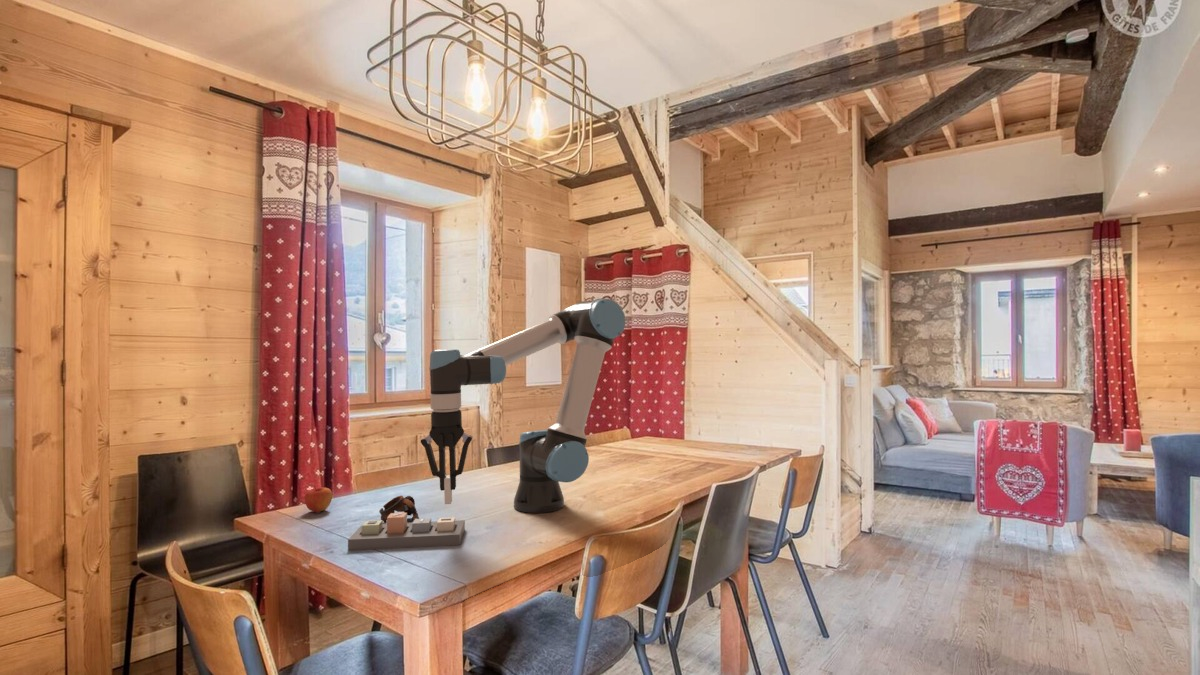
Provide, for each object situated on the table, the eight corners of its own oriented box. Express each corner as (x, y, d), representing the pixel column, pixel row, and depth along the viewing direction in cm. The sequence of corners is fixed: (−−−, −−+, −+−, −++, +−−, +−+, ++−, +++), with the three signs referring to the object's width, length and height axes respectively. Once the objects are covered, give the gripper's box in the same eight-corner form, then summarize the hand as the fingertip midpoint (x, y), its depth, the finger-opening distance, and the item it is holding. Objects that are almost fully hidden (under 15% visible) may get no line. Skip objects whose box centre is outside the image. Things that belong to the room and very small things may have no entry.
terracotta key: (407, 528, 146) (407, 511, 146) (403, 533, 142) (403, 516, 142) (390, 529, 146) (390, 512, 146) (386, 534, 142) (386, 516, 142)
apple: (337, 508, 173) (337, 482, 173) (321, 515, 166) (321, 487, 166) (315, 507, 174) (315, 481, 174) (298, 514, 167) (298, 487, 167)
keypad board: (464, 529, 152) (464, 520, 152) (459, 544, 140) (459, 534, 140) (362, 534, 149) (362, 524, 149) (347, 550, 137) (348, 539, 137)
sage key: (382, 536, 145) (382, 519, 146) (378, 541, 141) (378, 524, 142) (366, 536, 145) (366, 520, 145) (361, 542, 141) (361, 524, 141)
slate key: (431, 533, 147) (431, 517, 147) (428, 538, 143) (428, 522, 143) (415, 534, 146) (415, 518, 147) (412, 539, 142) (412, 522, 143)
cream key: (455, 532, 148) (455, 516, 148) (453, 537, 144) (453, 520, 144) (439, 533, 147) (439, 517, 147) (436, 538, 143) (436, 521, 143)
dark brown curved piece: (415, 529, 154) (399, 504, 153) (386, 543, 156) (369, 519, 154) (429, 506, 166) (414, 483, 164) (402, 519, 167) (387, 496, 166)
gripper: (473, 407, 151) (475, 497, 151) (422, 409, 149) (424, 500, 149) (470, 410, 143) (473, 505, 143) (417, 412, 142) (419, 508, 141)
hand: (448, 502), depth 146 cm, fingers closed
